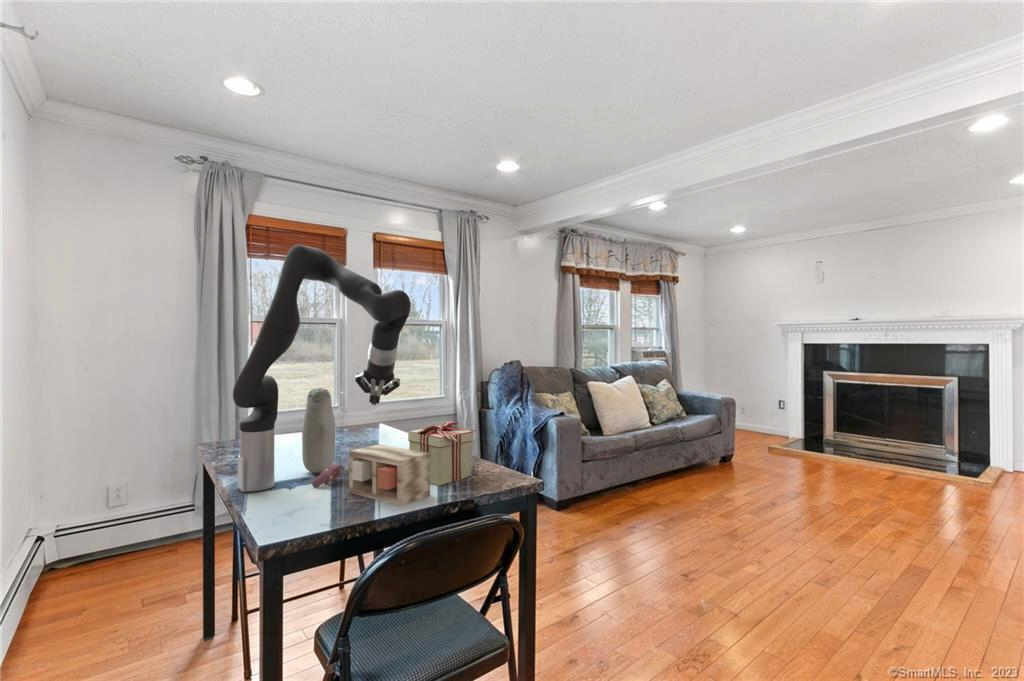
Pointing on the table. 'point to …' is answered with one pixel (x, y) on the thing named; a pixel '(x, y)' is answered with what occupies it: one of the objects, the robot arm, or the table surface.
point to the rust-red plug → (387, 477)
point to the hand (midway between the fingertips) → (373, 402)
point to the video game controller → (328, 475)
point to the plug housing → (409, 474)
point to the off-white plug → (362, 470)
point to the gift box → (445, 451)
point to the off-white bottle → (318, 431)
